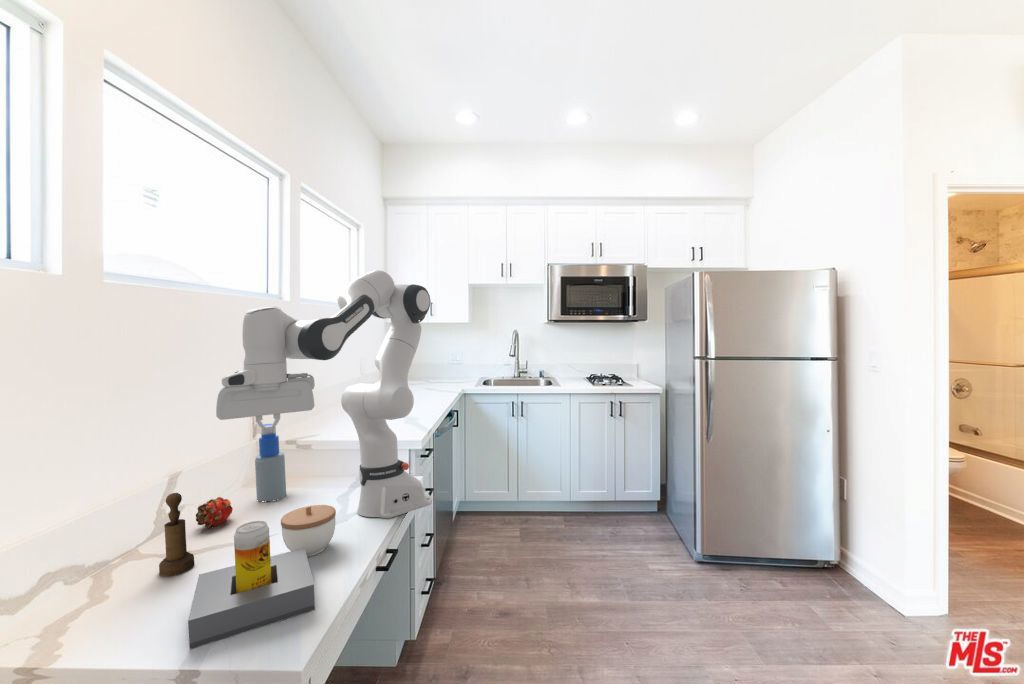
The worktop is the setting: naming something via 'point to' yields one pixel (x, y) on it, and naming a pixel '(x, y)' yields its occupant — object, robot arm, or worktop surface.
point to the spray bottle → (270, 469)
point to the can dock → (249, 599)
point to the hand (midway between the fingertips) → (268, 433)
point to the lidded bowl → (309, 528)
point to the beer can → (252, 556)
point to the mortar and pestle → (175, 541)
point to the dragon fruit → (214, 512)
